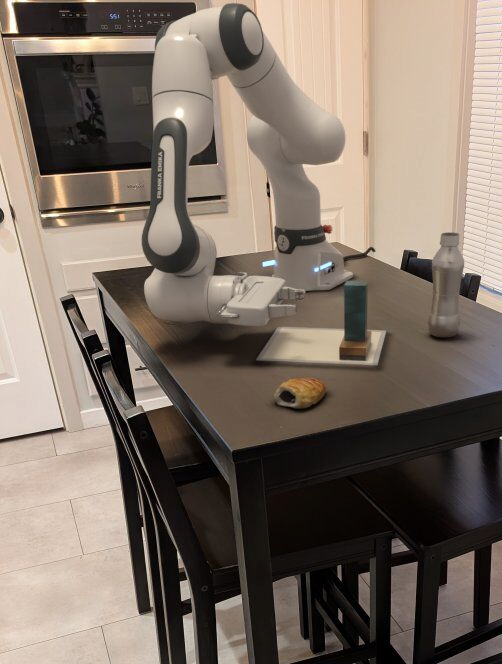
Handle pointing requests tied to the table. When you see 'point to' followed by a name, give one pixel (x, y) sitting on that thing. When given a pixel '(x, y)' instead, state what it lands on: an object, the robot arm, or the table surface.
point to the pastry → (300, 392)
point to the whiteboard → (315, 346)
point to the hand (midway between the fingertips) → (300, 302)
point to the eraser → (355, 322)
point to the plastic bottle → (446, 287)
